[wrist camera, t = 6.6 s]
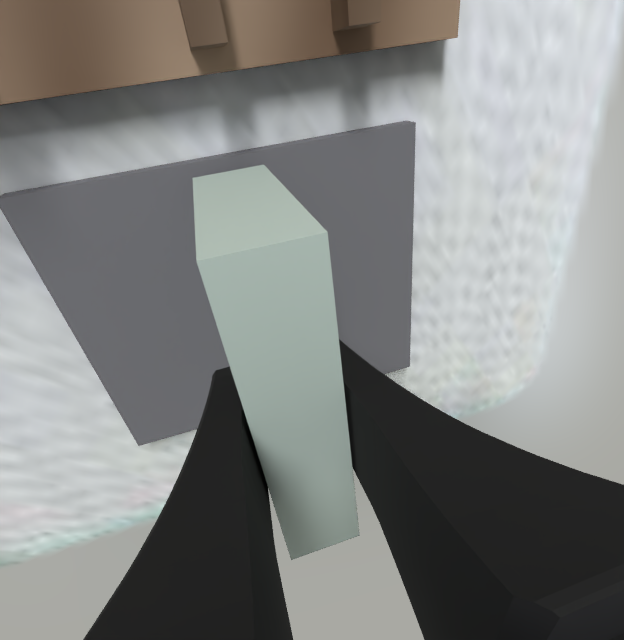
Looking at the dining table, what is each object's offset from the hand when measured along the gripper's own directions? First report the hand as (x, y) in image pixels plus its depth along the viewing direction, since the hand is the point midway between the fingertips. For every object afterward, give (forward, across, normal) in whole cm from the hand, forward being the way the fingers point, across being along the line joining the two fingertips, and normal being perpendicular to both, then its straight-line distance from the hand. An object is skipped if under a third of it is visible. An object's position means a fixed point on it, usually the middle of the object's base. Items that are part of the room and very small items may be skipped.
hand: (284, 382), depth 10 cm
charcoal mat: (+5, 0, 0) cm, 5 cm away
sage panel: (+4, 0, 0) cm, 4 cm away
